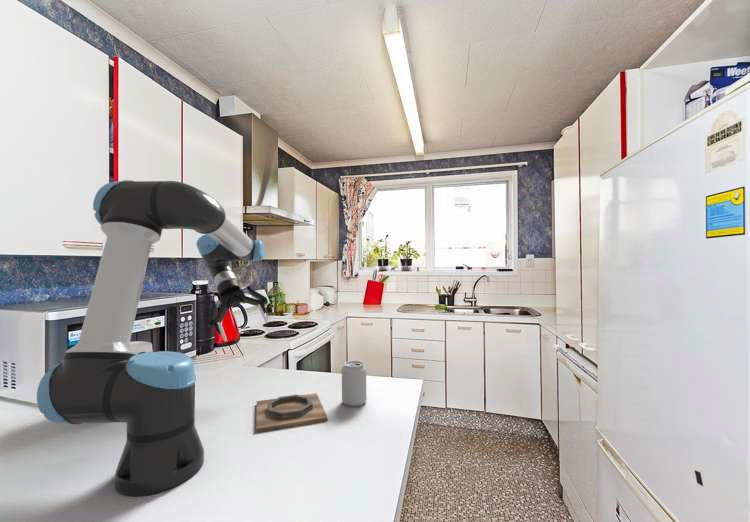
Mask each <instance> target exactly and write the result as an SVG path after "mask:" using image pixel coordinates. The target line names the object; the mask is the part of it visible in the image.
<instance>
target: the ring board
mask: <svg viewBox="0 0 750 522" xmlns="http://www.w3.org/2000/svg"><path fill="white" fill-rule="evenodd" d="M255 419H256V423H255V424H256V425H255V427H256V429H255V431H256V432H255V433H262V432H269V431H274V430H275V431H276V430H281V429H286V428H292V427H298V426H305V425H310V424H312V425H313V424H316V423H321V422H322V423H323V422H327V421H328V419H329V417H328V415H327V412H326V411H325V408H324V406H323V404H322V402H321V400H320V398H319V396H318V393H316V392H315V393H307V394H292V395H284V396H279V397H277V398H271V399H270V398H269V399H264V400H263V399H262V400H256V418H255Z"/></svg>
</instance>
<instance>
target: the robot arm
mask: <svg viewBox="0 0 750 522" xmlns="http://www.w3.org/2000/svg"><path fill="white" fill-rule="evenodd" d="M92 204H93V205H92V208H93V209H92V210H93V211H95V213H94V218H95V219H96V221H97V223H99V225H100V230H101V231H102V233H103V234H104V235H105V236H106V239H105V243H104V247H103V249H102V254H101V257H100V261H99V265H98V268H97V273H96V274H95V275H96V276H95V280H94V283H93V287H92V291H91V294H90V297H89V301H88V306H87V309H86V313H85V315H84V320H83V324H82V327H81V331H80V335H79V339H78V342H77V343H76V344H75V345H74V346H71V348H69V349H67V350H66V351H65V352H64V353H65V354H64V356H63V360H62V361H61V362H59V363H57V364H55V365H53V366H52V367H50V368H49V369H48V371H47V372H45V373H44V374H43V376H42V378H41V379H40V381H39V383H38V387H37V390H36V404H37V408H38V410H39V412H40V413H41V414H43V417H44V418H45V419H46V420H48V421H50V422H53V423H56V424H68V425H76V426H77V425H82V424H100V423H102V424H103V423H108V424H109V423H126V441H125V445H124V448H123V450H122V453H121V456H120V459H119V461H118V464H117V467H116V469H115V473H114V487H115V490H116V491H117V492H118V493H120V494H121V495H125V496H129V497H132V496H133V497H135V496H136V497H140V496H141V497H142V496H147V495H151V494H152V495H153V494H157V493H161V492H163V491H166V490H169V489H172V488H175V487H177V486H179V485H180V484H182V483H184V482H186V481H188V480H189V479H190V478H193V477H194V475H196V473H198V472H199V471H200V470H201V468H202V466H204V462H205V449H204V446H203V443H202V441H201V439H200V435H199V433H198V431H197V428H196V426H195V425H196V424H195V423H196V421H195V418H196V417H195V415H196V412H195V409H196V379H197V377H196V370H195V362H194V360H193V359H192V357H190V356H189V355H188V354H185V353H183V352H178V351H170V350H169V351H167V350H164V351H163V350H159V351H153V352H146V353H141V354H137V355H136V352H135V351H134V350H133V349H132V348H131V347H130V345H129V344H130V342H131V338H132V334H133V329H134V325H135V320H136V316H137V311H138V306H139V303H140V298H141V293H142V289H143V283H144V279H145V275H146V271H147V266H148V261H149V257H150V253H151V247H152V245H154V244H156V243H158V242H159V241H161V236H162V232H163V230H177V229H179V230H191V231H192V230H193V231H194V232H196V233H198V234H200V235H201V236H200V237H198V239H197V241H196V247H197V250H198V253H199V254H200V256H201V258H202V259H203V261H204V263H205V265H206V267H207V269H208V270H209V273H210V275H211V277H212V280H213V283H214V285H215V288H216V290H217V292H218V296H219V299H218V300H216V301H215V300H211V302H210V304H211V308H210V310H209V315H208V318H207V322H206V325H207V326H208V328H209V329H213V328H215V332H216V333H217V334H218V335H220V334H221V337H222V339H223V341H224V342H228V339H227V336H226V333H225V330H224V327H223V325H222V322H223V320H224V318H225V316H226V315H227V312H228V311H229V309H230V308H234V307H235V306H238V305H241V303H242V304H249V305H252V306H256V307H258V310H259V312H260V314H261V316H262V317H263V320H264V322H265V324H266V323H268V322H269V321H268V319H267V317H266V315H265V314H267V313H268V311H267V308H266V305H268V304H269V301H268V298H267V297H266V296H265V295H262V294H261V293H259V292H258V291H256V290H255V289H252V287H251V285H247V286H246V288H244V289H242V287H241V285H240V283H239V281H238V279H237V277H236V274H235V272H234V271H233V268H232V264H231V263H230V262H256V261H257V262H260V261H262V260H264V258H265V255H266V248H265V247H266V246H265V243H264V241H263V240H260V239H253V240H252V239H251V238H250V237H249V236H248V235H247V234H246V233H245V232H244V231H243V230H242V229H241V228H240V227H238V226H239V225H237V224H236V223H235V222H234V221H233V220H232V219H230V217H228V216H227V214H226V210H225V208H224V206H223V205H222V204H220V203H219V202H218V201H217V200H216V199H215V198H214V197H212V196H211V195H209V193H208V194H207V193H206V192H204V191H203V190H201V189H199V188H197V187H195V186H193V185H190V184H187V183H184V182H180V181H175V180H164V181H163V180H155V181H154V180H153V181H152V180H150V181H149V180H147V181H146V180H144V181H143V180H138V181H137V180H131V179H130V180H127V179H126V180H120V181H111V182H108V183H105V184H104V185H102V186H101V187H100V188H99V189H98V190H97V192H96V194H95V196H94V199H93V202H92ZM246 294H247V295H250V296H252V297H250V296H249V297H248V296H246ZM220 305H221V307H220ZM219 307H220V309H218V308H219ZM218 310H219V311H218Z"/></svg>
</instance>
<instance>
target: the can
mask: <svg viewBox="0 0 750 522" xmlns="http://www.w3.org/2000/svg"><path fill="white" fill-rule="evenodd" d="M367 399H368V398H367V367H366V366H365V363H364V362H363V361H361V360H348V361H346V362H344V363H343V366H342V367H341V401H342V403H343V404H345V405H346V406H347V407H360V406H362V405H364V404H365V403H366V402H367Z"/></svg>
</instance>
